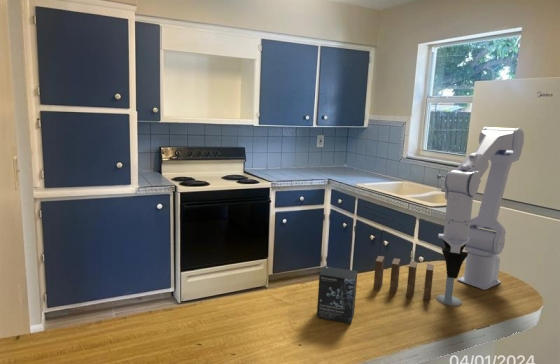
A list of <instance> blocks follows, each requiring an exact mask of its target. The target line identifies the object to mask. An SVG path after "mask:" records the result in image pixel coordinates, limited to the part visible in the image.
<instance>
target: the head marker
mask: <svg viewBox="0 0 560 364" xmlns="http://www.w3.org/2000/svg"><path fill="white" fill-rule="evenodd" d="M435 298H436V299H435V300H436V301H437V302H438V303H441V304H443V305H445V306H450V307H459V306H461V305H462V304H463V301H462V300H461V299H460V298H458V297H456V296H453V295H452V303H451V304H450V303H444V302H445V294H439V295H436V297H435Z"/></svg>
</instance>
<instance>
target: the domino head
mask: <svg viewBox="0 0 560 364" xmlns="http://www.w3.org/2000/svg"><path fill="white" fill-rule="evenodd" d="M454 283H455V278H449V277H447V276H446V281H445V291H444V295H445V302H444V303H450V304H451V303H452V296H453V293H454Z"/></svg>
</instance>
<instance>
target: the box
mask: <svg viewBox="0 0 560 364" xmlns="http://www.w3.org/2000/svg"><path fill="white" fill-rule="evenodd" d="M357 281H358V271H357V270H351V269H347V268H346V269H344V268H338V267H330V266H328V265H327V266H326V265H324V266H323V267H322V269H321V271H320V273H319V274H318V289H317V290H318V292H317V305H316V306H317V307H316V318H317V319H318V318H319V319H324V320H328V321H334V322H340V323H344V324H348V325H351V324H352V321H353V318H354V314H355V308H356V306H355V304H356V297H357Z"/></svg>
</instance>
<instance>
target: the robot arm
mask: <svg viewBox="0 0 560 364" xmlns="http://www.w3.org/2000/svg"><path fill="white" fill-rule="evenodd" d="M524 141H525V135H524V131H523V130H522V128H521V127H516V128H515V127H514V128H513V127H494V126H493V127H489V126H484V127H483V128H482V129H481V130H480V133H479V137H478V143H479V145H478V147H476V150H475V152H471V153H469V154H467V156H466V157H465V158H464V159H463V161H462V162H461V163H460V164H459V165H458V167H457V168H456V169H452V170H451V171H448V172H447V174H446V175H445V178H444V182H443V189H444V192H445V193H444V199H445V200H446V207H445V216H444V227H443V233H438V236H437V237H438V239H442V241H443V244H444V246H445V247H442V248H441V253H442V254H443V256H444V261H445V267H446V268H445V269H446V278H447V277H449V278H454V280H455V279H457V281H458V282H461V283H464V284H467V285H470V286H472V287H474V288H478V289H481V290H484V291H486V290H487V289H490V288H492V287H494V286H496V285H499V284H501V282H502V281H501V280H499V271H500V264H501V260H500V257H499V255H500V254H501V253H502V252H503V250H504V247H505V242H506V241H505V240H506V233H507V232H506V229H505V227H504V225H502V224H501V223H500V222H499V221H498V218H499V217H498V216H499V214H500V209H501V204H502V201H503V197H504V193H505V190H506V189H505V188H506V184H507V182H508V181H507V180H508V176H509V173H510V169H511V167H512V164H513V163H515V162H517V161H519V160H520V157H521V155H522V150H523V145H524ZM489 161H490V163H489ZM488 169H489V171H488V174H487V179H486V183H485V186H484V191H483V196H482V198H481V202H480V206H479V209H478V213H477V215H476V216H475V217H473V218H472V211H473V202H474V196H475V195H476V194H477V193H478V191H479V188H480V185H481V181H482V180H481V179H482V177H483V175H484V174H485V173H486V171H487V170H488ZM464 262H465V265H464V274H463V276H461V277H459V274H460V270H461V267H462V266H463V265H462V264H463V263H464Z"/></svg>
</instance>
